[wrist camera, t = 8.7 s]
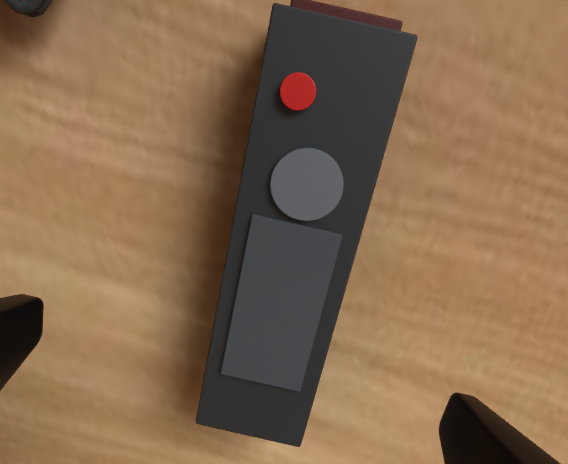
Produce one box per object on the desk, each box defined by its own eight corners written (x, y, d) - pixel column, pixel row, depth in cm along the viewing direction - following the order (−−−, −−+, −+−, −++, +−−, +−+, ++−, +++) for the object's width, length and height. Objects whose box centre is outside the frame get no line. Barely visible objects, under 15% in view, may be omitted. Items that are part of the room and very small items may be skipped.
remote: (301, 404, 20) (300, 453, 17) (210, 383, 20) (192, 429, 17) (403, 37, 15) (425, 17, 12) (281, 10, 15) (274, -18, 12)
